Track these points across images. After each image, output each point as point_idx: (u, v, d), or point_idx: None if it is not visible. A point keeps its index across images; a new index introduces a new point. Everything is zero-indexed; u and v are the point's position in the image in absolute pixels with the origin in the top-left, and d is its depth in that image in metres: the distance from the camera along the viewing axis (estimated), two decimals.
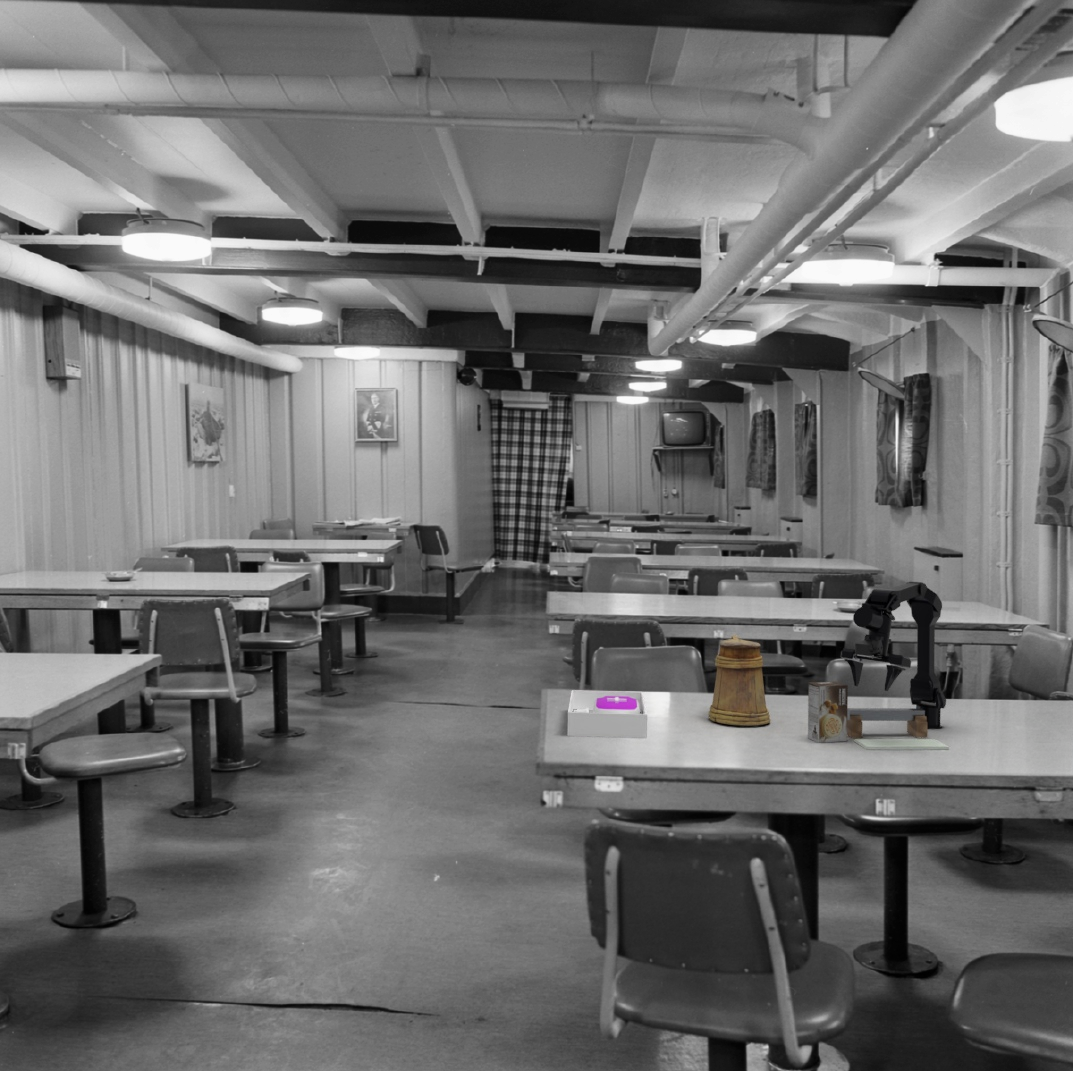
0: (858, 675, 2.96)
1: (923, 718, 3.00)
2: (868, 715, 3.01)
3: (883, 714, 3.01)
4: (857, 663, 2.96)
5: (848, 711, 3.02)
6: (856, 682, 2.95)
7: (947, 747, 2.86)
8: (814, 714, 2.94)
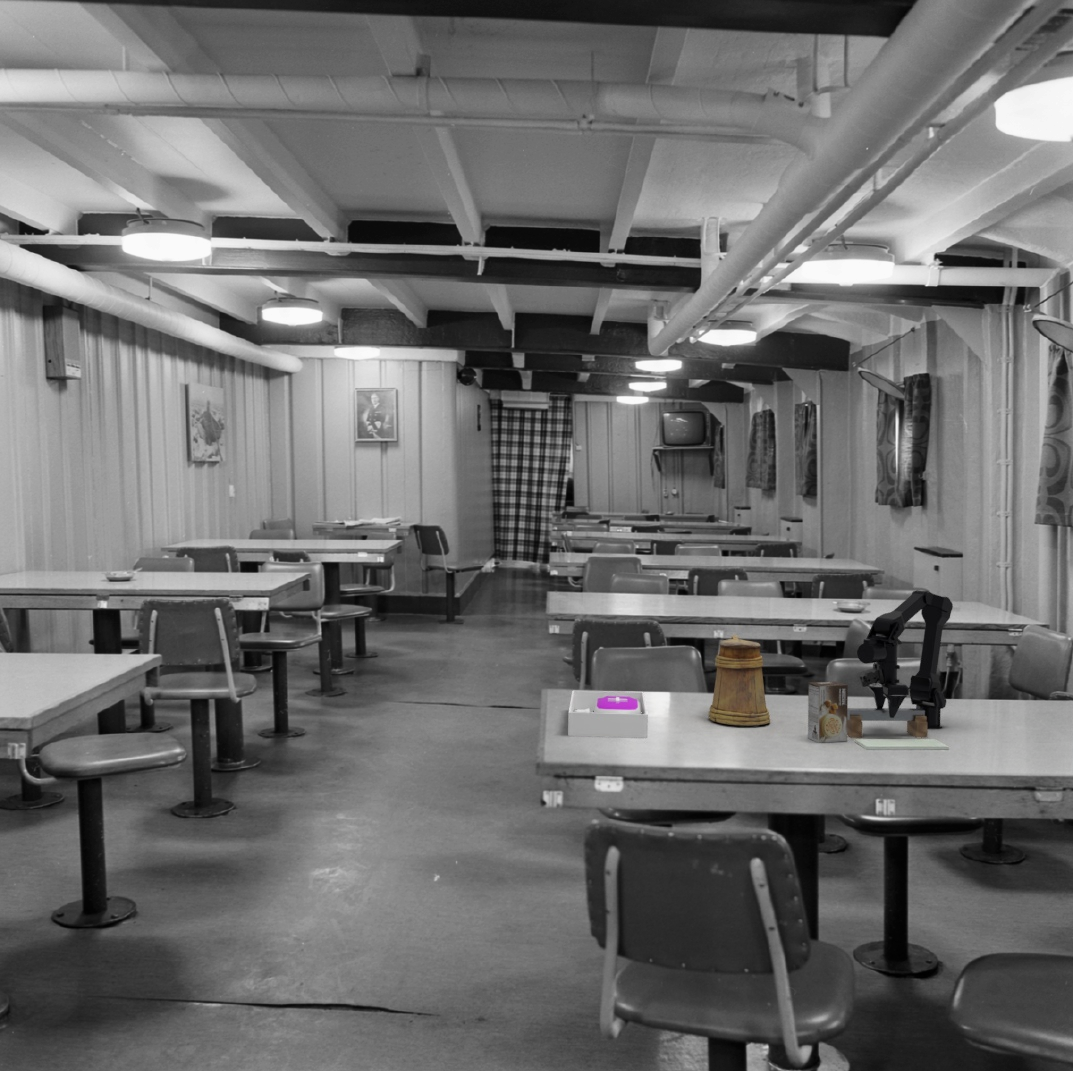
0: (881, 700, 3.07)
1: (923, 718, 3.00)
2: (868, 715, 3.01)
3: (883, 714, 3.01)
4: (879, 689, 3.07)
5: (848, 711, 3.02)
6: (878, 707, 3.07)
7: (947, 747, 2.86)
8: (814, 714, 2.94)
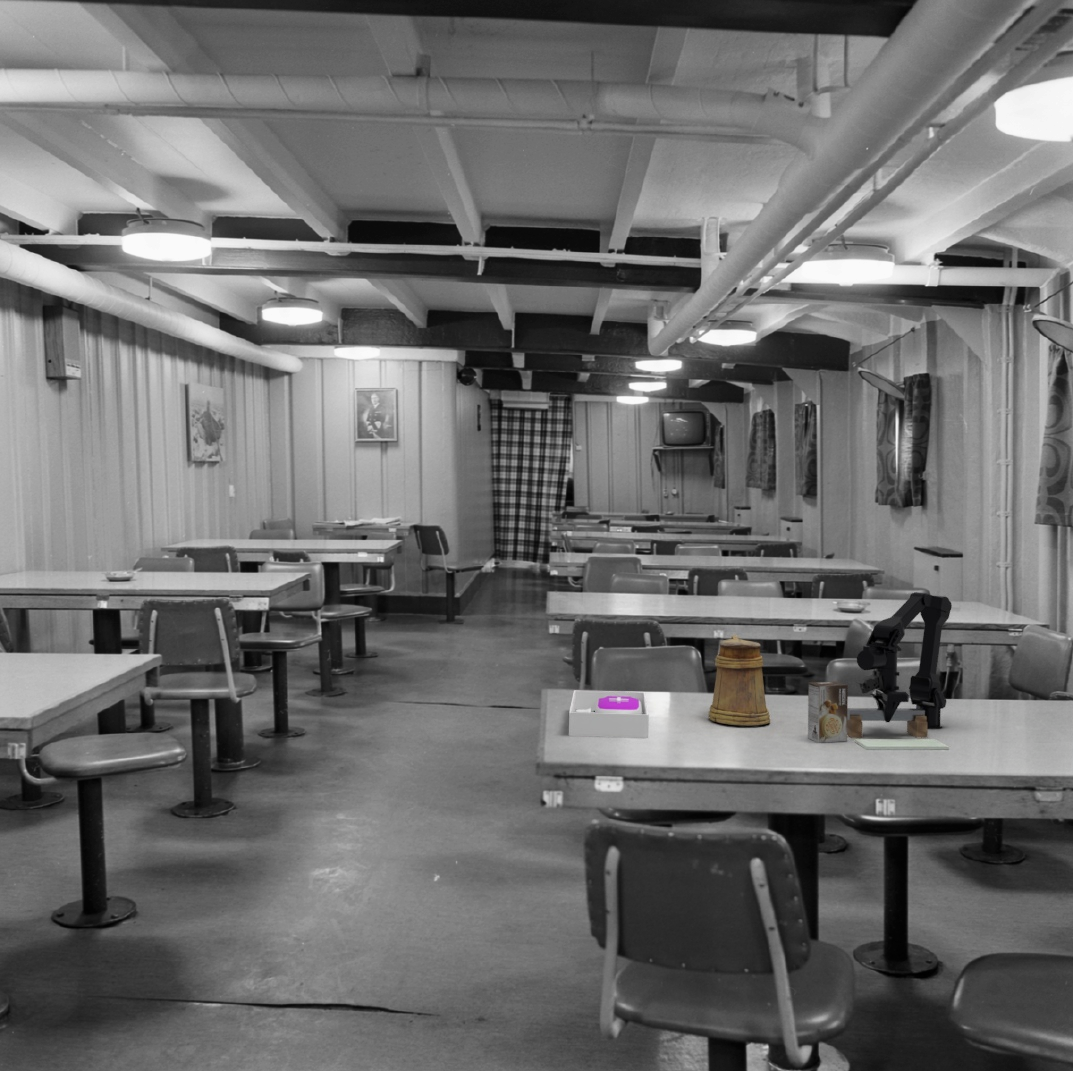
0: None
1: (923, 718, 3.00)
2: (868, 715, 3.01)
3: (883, 714, 3.01)
4: (882, 697, 3.04)
5: (848, 711, 3.02)
6: None
7: (947, 747, 2.86)
8: (814, 714, 2.94)
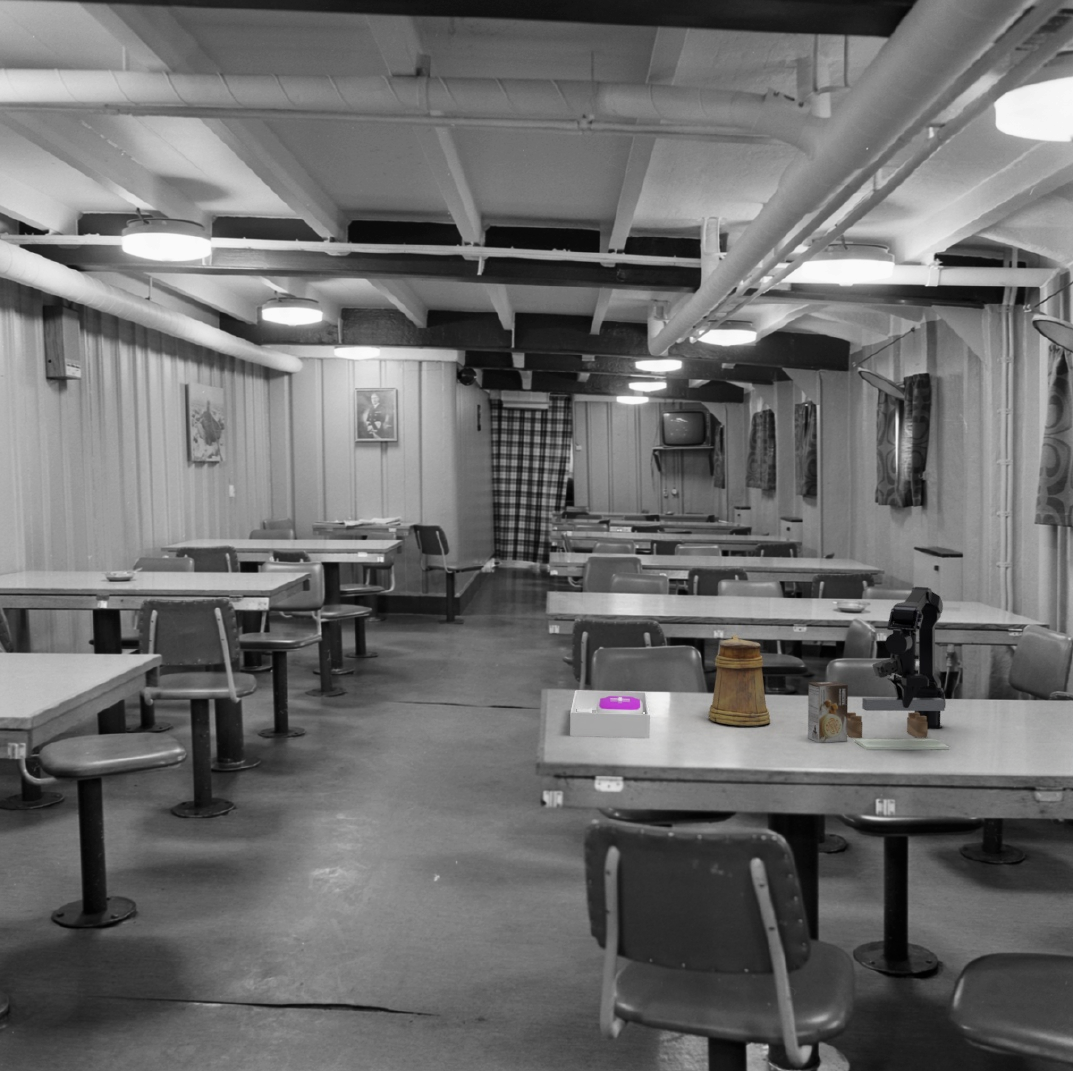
0: None
1: (923, 718, 3.00)
2: (885, 705, 2.88)
3: (901, 704, 2.88)
4: (900, 682, 2.91)
5: (864, 701, 2.88)
6: None
7: (947, 747, 2.86)
8: (814, 714, 2.94)
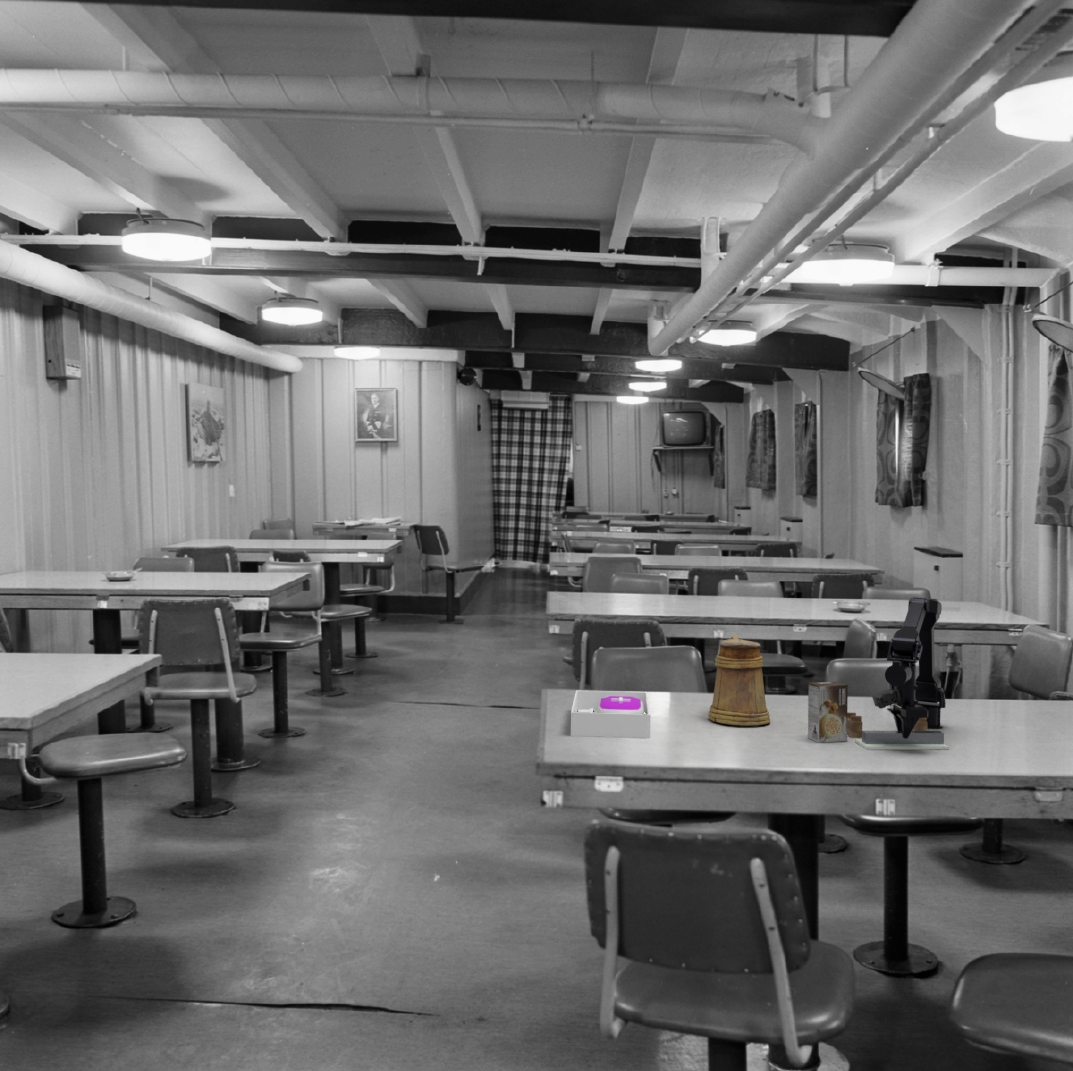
0: None
1: (923, 718, 3.00)
2: (885, 738, 2.88)
3: (901, 737, 2.88)
4: (900, 712, 2.92)
5: (864, 734, 2.89)
6: None
7: (947, 747, 2.86)
8: (814, 714, 2.94)
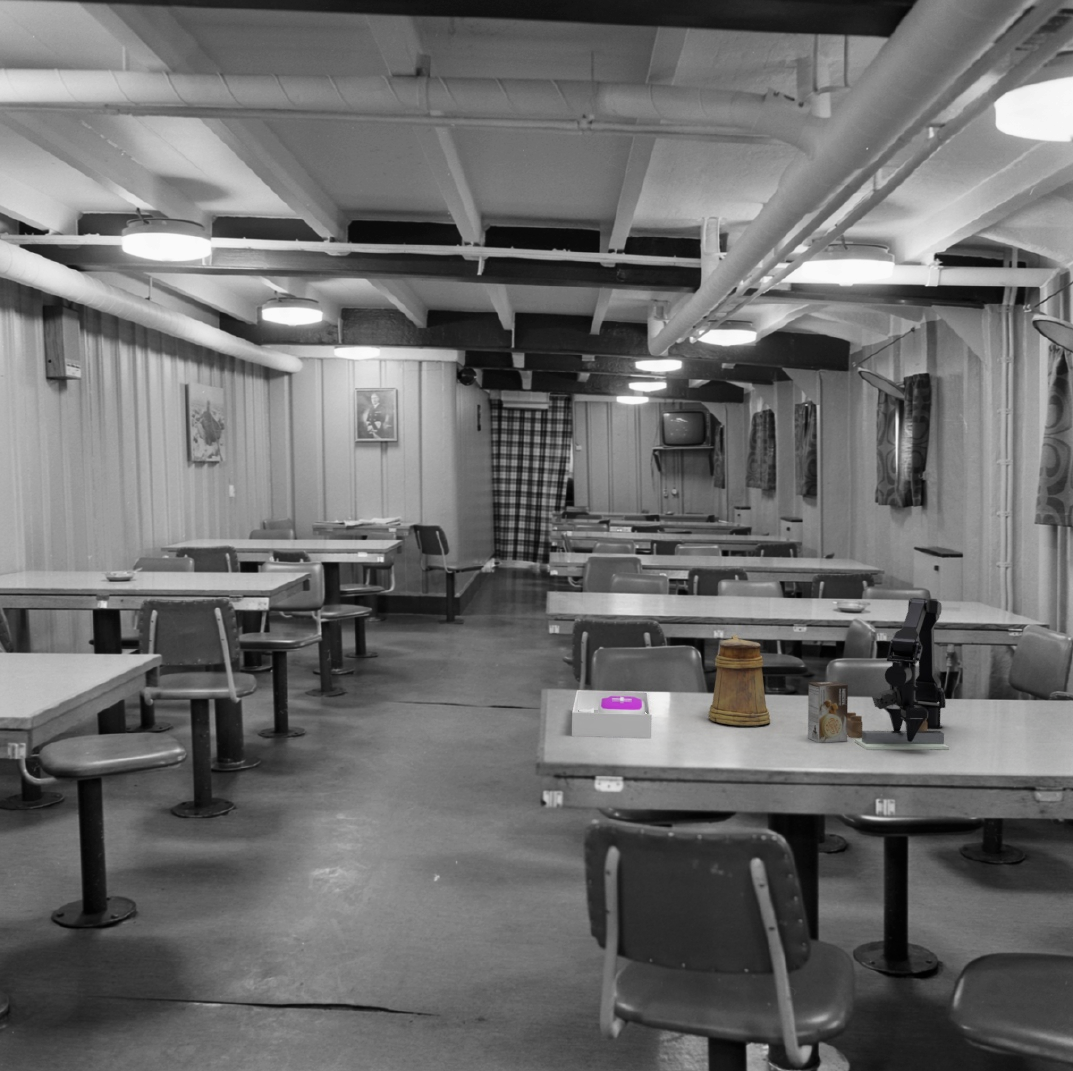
0: (898, 722, 2.94)
1: None
2: (885, 738, 2.88)
3: (901, 737, 2.88)
4: (896, 711, 2.94)
5: (864, 734, 2.89)
6: (895, 730, 2.94)
7: (947, 747, 2.86)
8: (814, 714, 2.94)
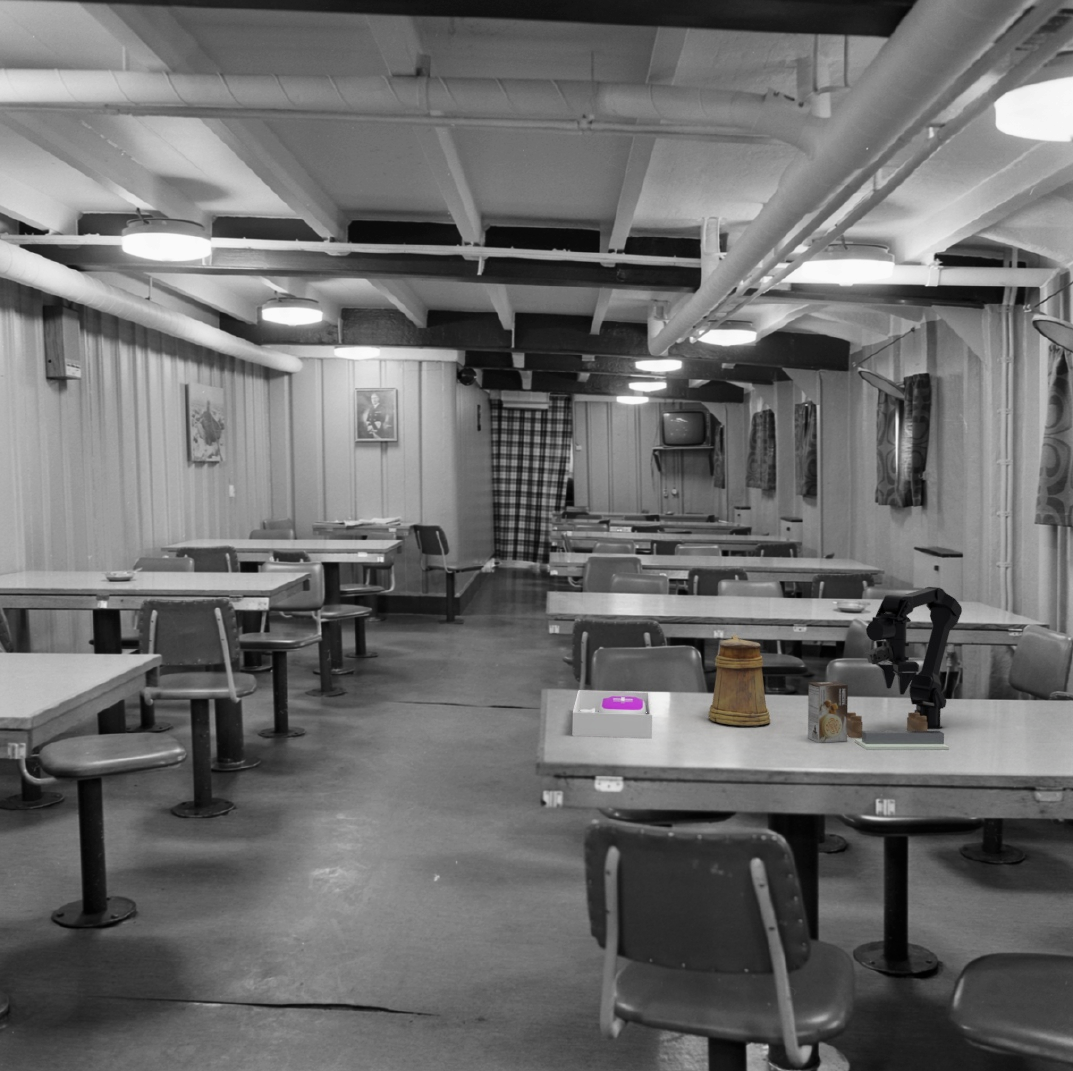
0: (890, 677, 3.10)
1: (923, 718, 3.00)
2: (885, 738, 2.88)
3: (901, 737, 2.88)
4: (888, 666, 3.10)
5: (864, 734, 2.89)
6: (887, 684, 3.10)
7: (947, 747, 2.86)
8: (814, 714, 2.94)
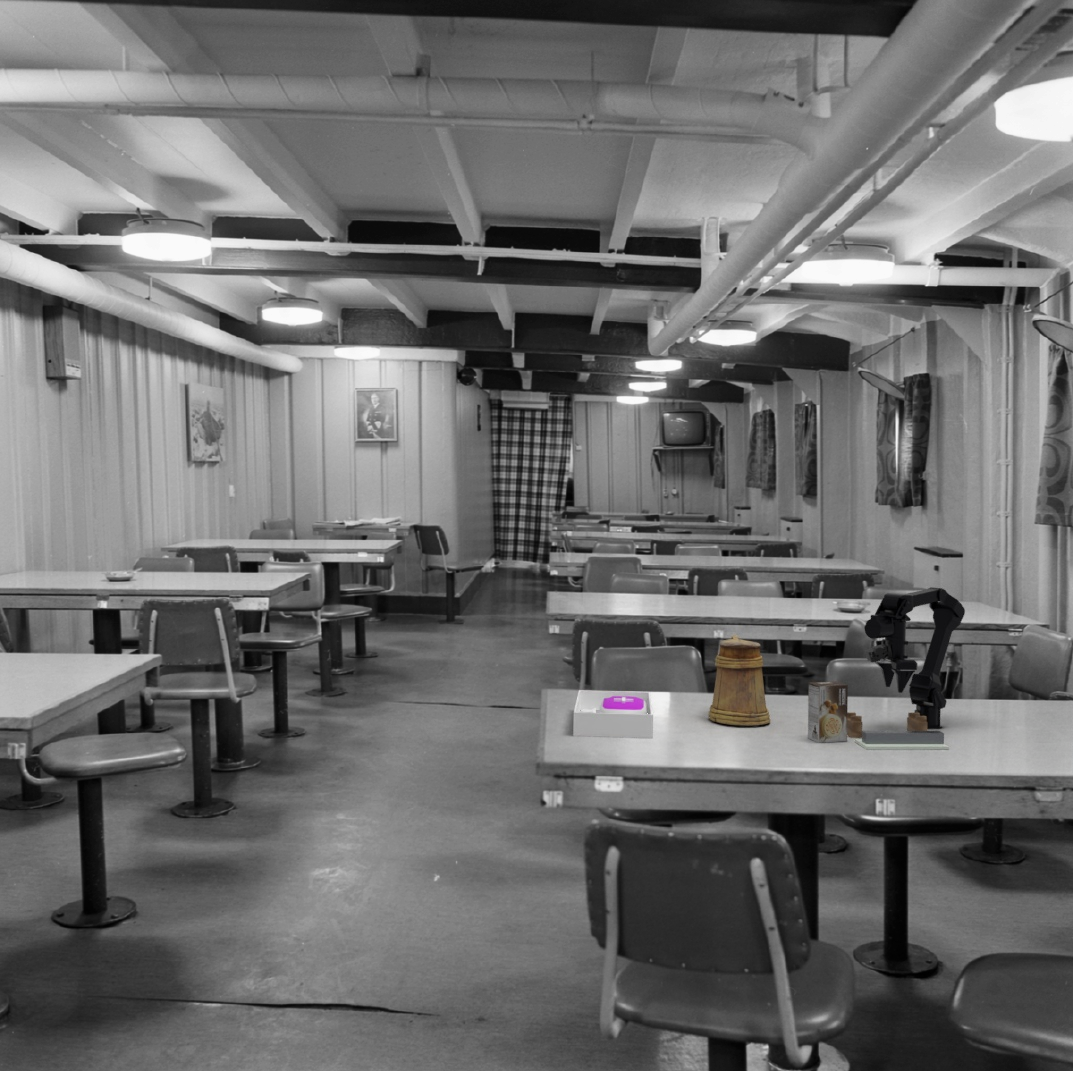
0: (889, 676, 3.11)
1: (923, 718, 3.00)
2: (885, 738, 2.88)
3: (901, 737, 2.88)
4: (887, 665, 3.11)
5: (864, 734, 2.89)
6: (886, 683, 3.11)
7: (947, 747, 2.86)
8: (814, 714, 2.94)
